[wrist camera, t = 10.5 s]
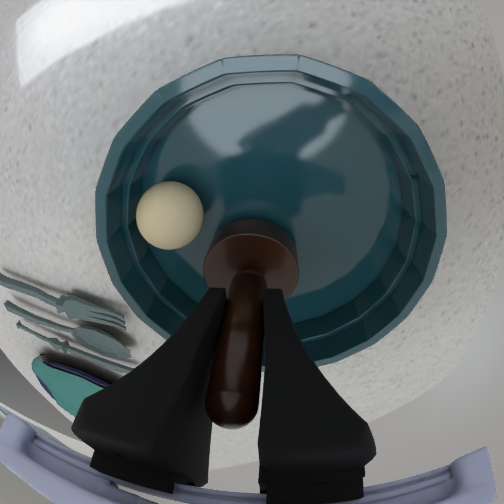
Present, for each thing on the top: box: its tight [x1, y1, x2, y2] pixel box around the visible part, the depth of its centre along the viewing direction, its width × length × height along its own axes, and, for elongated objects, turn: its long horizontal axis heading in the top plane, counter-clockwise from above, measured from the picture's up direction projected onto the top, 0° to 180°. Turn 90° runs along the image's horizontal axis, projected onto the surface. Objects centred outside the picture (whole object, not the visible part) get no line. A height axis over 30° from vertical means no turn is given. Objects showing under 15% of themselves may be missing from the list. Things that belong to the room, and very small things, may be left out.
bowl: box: [95, 54, 447, 372], centre depth 13 cm, size 15×15×4 cm
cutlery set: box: [0, 273, 134, 417], centre depth 25 cm, size 20×30×2 cm, turn 169°
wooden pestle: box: [203, 218, 299, 429], centre depth 11 cm, size 4×4×9 cm
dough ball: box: [136, 181, 203, 250], centre depth 12 cm, size 3×3×3 cm
